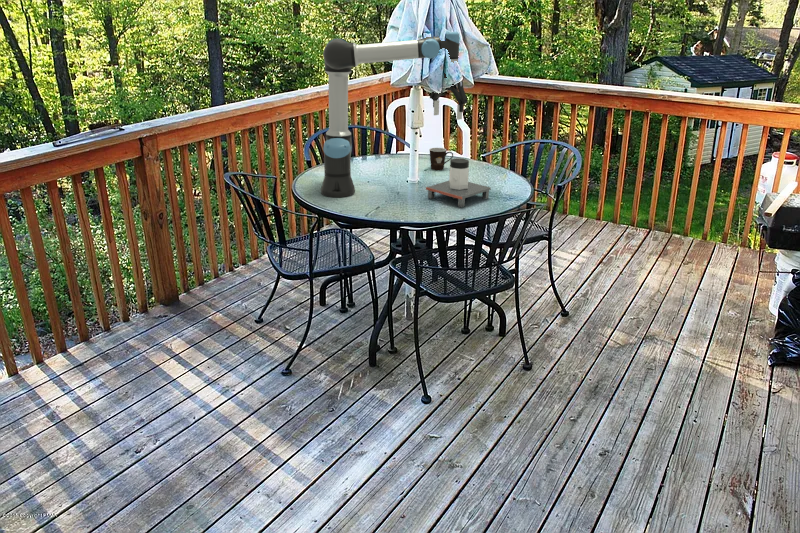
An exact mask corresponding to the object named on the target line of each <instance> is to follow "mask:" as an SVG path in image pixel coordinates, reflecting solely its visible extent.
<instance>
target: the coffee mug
mask: <svg viewBox="0 0 800 533" xmlns="http://www.w3.org/2000/svg"><path fill="white" fill-rule="evenodd" d="M447 154H451V157H450V158H449V159H448V160H446V157H447ZM429 158H430V159H429V161H430V170H432V171H437V170H439V171H444V169H445V168H444V167H445V165H446V164H447V163H448V162H450V160H451V159H453V158H454V153H453V152H452V151H447V149H446V148H445V147H444V148H443V147H430V148H429Z"/></svg>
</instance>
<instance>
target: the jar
mask: <svg viewBox="0 0 800 533" xmlns="http://www.w3.org/2000/svg"><path fill="white" fill-rule="evenodd" d="M449 162H450V163H449V177H448V178H449V180H448V181H449V187H450V189H456V190H462V189H468V182H469V174H470V173H469V172H470V168H469V166H470V161H469V159H466V158H462V157H461V158H460V157H457V158H452V159H451V160H449Z"/></svg>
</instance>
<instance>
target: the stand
mask: <svg viewBox="0 0 800 533" xmlns="http://www.w3.org/2000/svg"><path fill="white" fill-rule="evenodd" d="M425 190H426V191H427V192H428V194H427V198H428V199H430V200H433V199H435V196H436V195H435V194H436V193H437V194H440V195H444V196H447V197H452V199H453V200H455V201H458V202H457V207H458V208H465V205H466V204H465V202H466V201H465V200H466V198H470V197H473V196H477V195H479V194H482V195H481V199H483V200H488V199H489V195H490V190H491V191H492V188H491V187H490V186H486V185H482V184H478V183H475V182H472V181H468V189H462V190H456V189H450V187H449V180H446V181H443V182H440V183H436V184H433V185H430V186H426V187H425Z"/></svg>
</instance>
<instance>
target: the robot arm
mask: <svg viewBox="0 0 800 533" xmlns="http://www.w3.org/2000/svg"><path fill="white" fill-rule="evenodd" d="M460 43H461V42H460V33H459V31H453V32H446V41H441V40H440V38H439V36H437V37H435V36H434V35H433V38H432V37H426V38H424V39H419V40H415V39H410V40H399V41H398V40H397V41H389V42H388V41H386V42H375V43H364V44H357V43H355V42H348V41H346V40H345V39H342V38H333V39H331V40H329V41H327V44H326V46H325V47H324V49H323V54H322V56H323V60H324V72H325V73H326V74H327V75H328V130H327V131H326V132H325V141H324V143H323V146H322V147H323V148H322V150H323V160H324V161H323V164H324V170H323V172H324V178H323V180H322V185H321V188H320V191H321V192H320V193H321V195H323V196H325V197H330V198H345V197H350V196H353V195H354V194H355V192H356V189H355V188H356V187H355V185H354V181H353V179H352V176H351V173H352V172H351V167H352V166H351V155H352V152H353V144H352V132H351V131H350V130H349V75H350V74H351V73H352V68H355V67H358V66H359V65H360V64H371V63H380V62H382V63H383V62H392V61H394V62H395V61H403V60H404V61H405V60H415V59H434V58H436V57H437V56H439V54H438V53H439V50H440V49H442V48H445V49H447V50H448V52H449V53H448V54H449V55H450V56H449V57H450V59H451V62H453V63H454V61H457V62H458V58H459V57H460ZM458 56H459V57H458ZM459 59H460V58H459ZM444 78H447V77H446V74H445V73H444ZM460 81H461V82H459V81H458V82H459V83H457V85H454V84H452V85H454V86H451V87H450V88H446V89H445V91H450V92H451V93H452V94H453V95H454V97H455V100H456V101H457V102H458V103H457V108H456V120H457V121H458V120H462V119H463V112H464V105H465V104H469V103H468V102H469V101H468V98H467V95H466V91H465V88H464V82H463V80H460ZM443 94H444V92H441V93H439V94H438V93H434V92H432V91H431V93H430V95H429V99H431V100H432V106H433V107H432V108H433V116H439V114H440V97H441V96H442V95H443Z"/></svg>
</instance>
